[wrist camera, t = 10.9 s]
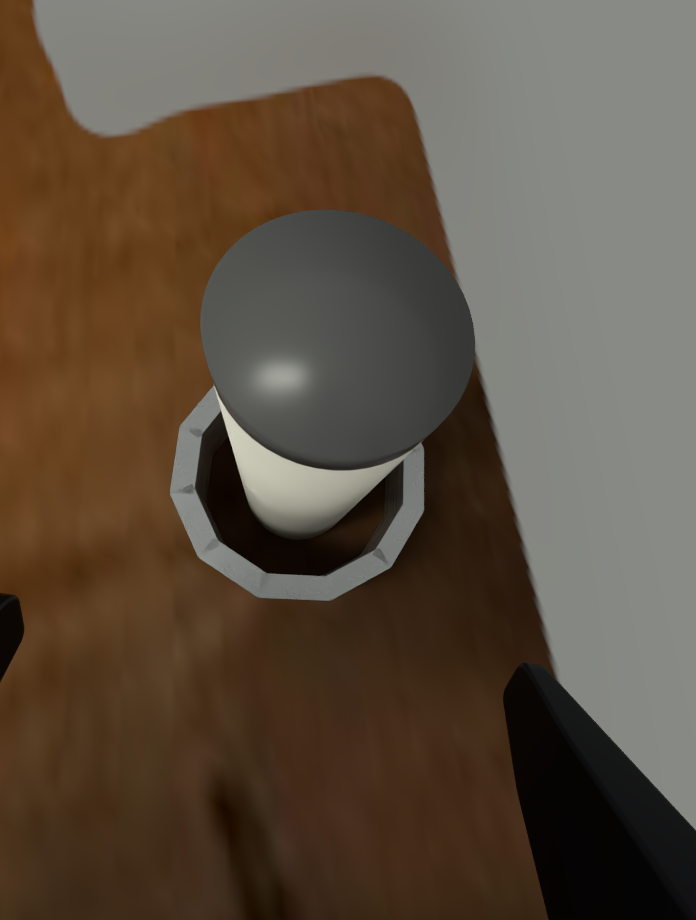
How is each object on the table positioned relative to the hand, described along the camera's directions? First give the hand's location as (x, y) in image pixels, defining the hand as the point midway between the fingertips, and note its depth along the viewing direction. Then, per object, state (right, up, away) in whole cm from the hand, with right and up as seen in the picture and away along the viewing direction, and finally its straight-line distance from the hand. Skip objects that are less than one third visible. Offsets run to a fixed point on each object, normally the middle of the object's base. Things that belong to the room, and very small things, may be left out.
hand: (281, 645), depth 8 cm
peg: (-1, +2, +11) cm, 12 cm away
